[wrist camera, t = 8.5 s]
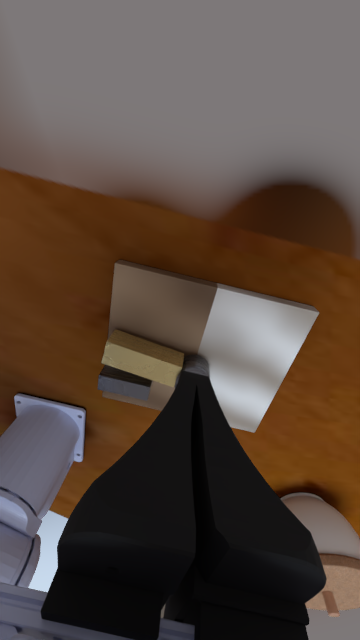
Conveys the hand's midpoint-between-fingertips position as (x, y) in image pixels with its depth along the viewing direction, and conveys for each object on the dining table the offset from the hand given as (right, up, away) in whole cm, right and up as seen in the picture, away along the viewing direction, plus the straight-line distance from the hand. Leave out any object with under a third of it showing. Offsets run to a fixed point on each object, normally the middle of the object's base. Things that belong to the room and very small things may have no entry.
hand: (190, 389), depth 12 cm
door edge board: (+1, 0, +11) cm, 11 cm away
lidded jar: (+15, -21, +20) cm, 33 cm away
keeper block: (-5, -1, +11) cm, 12 cm away
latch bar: (-2, 0, +9) cm, 10 cm away
